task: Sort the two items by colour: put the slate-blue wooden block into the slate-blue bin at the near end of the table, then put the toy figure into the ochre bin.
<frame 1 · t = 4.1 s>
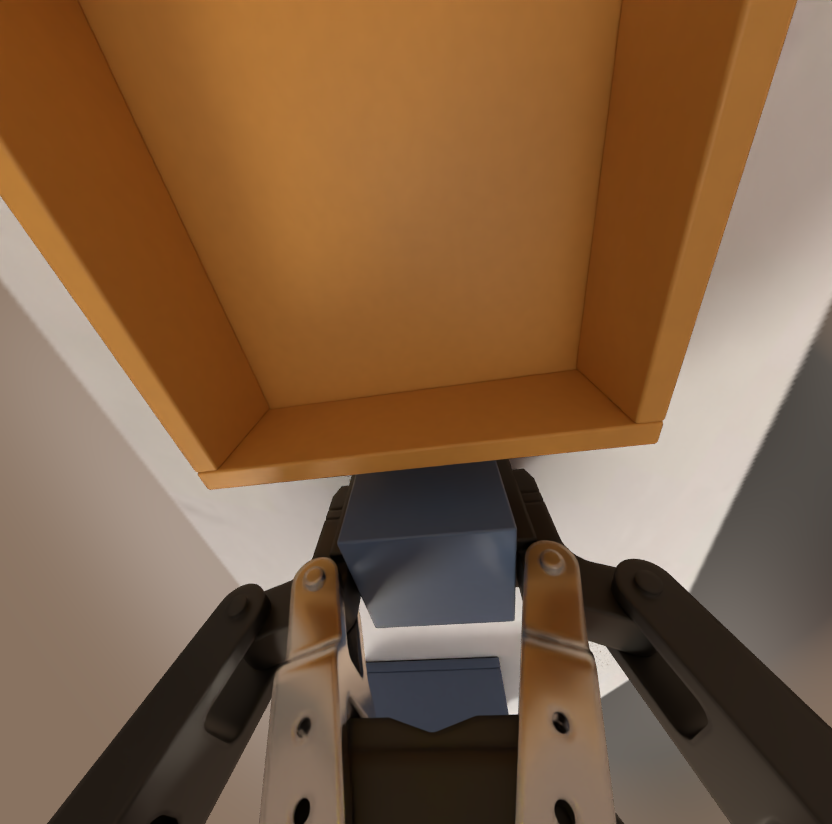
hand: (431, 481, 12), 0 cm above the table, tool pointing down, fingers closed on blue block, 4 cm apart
ochre bin: (385, 207, 8), on the table
blue block: (431, 475, 12), on the table, touching gripper
blue bin: (436, 686, 24), on the table
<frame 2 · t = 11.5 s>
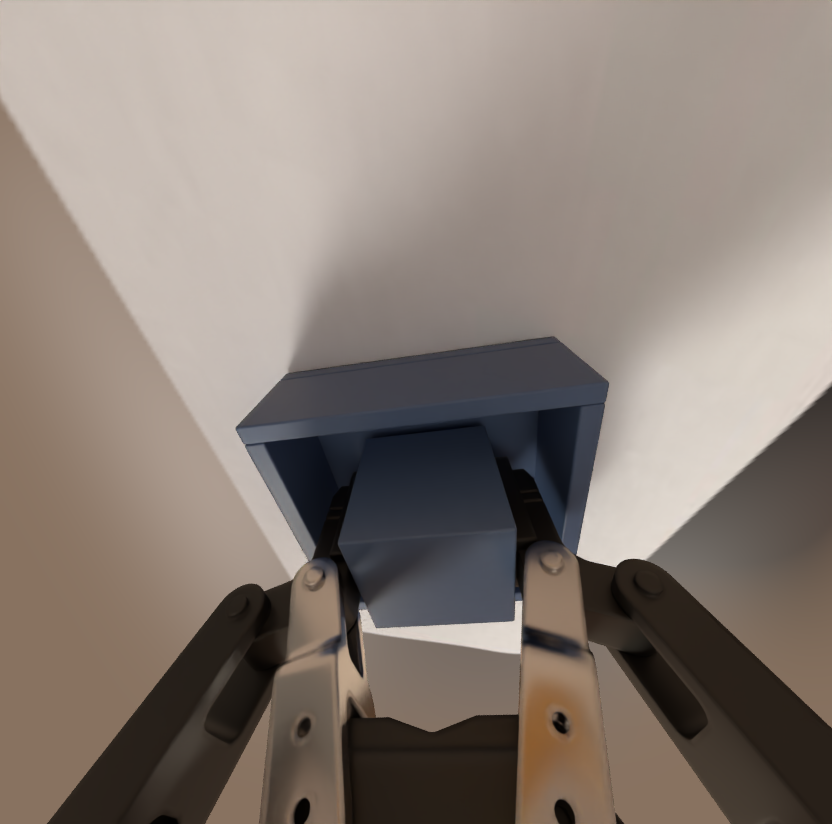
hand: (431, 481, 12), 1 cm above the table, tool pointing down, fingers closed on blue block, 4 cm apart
blue block: (431, 476, 12), point 1 cm above the table, touching gripper
blue bin: (431, 459, 13), on the table
when the fingers open (3 cm above the table, at t = 21.8 s): blue block drops 2 cm, resting on blue bin.
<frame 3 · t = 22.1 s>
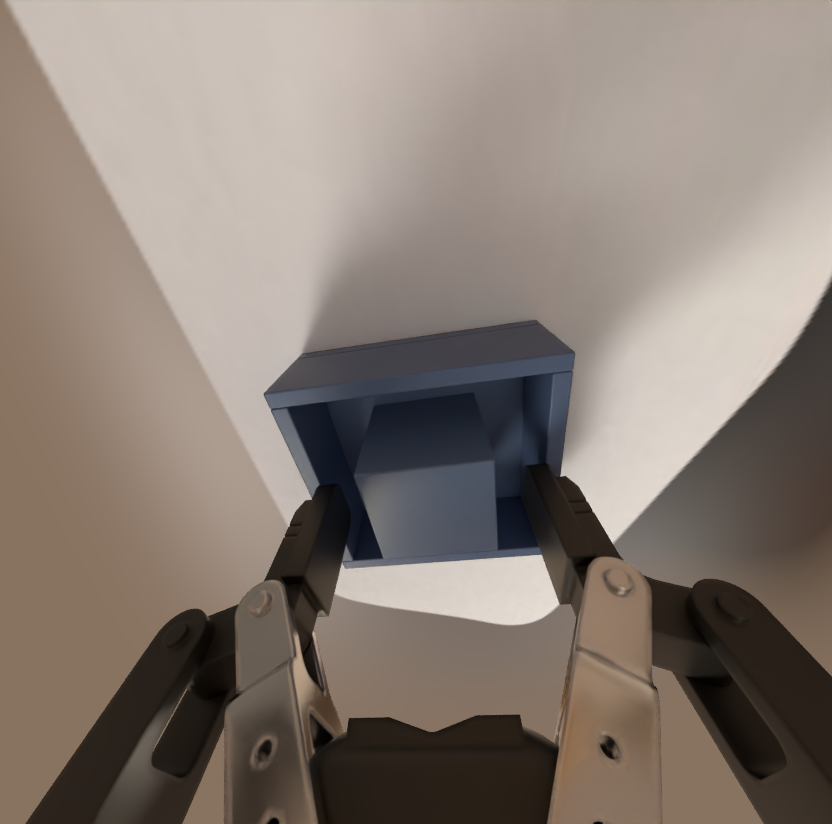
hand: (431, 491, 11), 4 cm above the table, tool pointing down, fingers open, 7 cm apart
blue block: (429, 439, 14), point 1 cm above the table, touching blue bin
blue bin: (429, 433, 15), on the table
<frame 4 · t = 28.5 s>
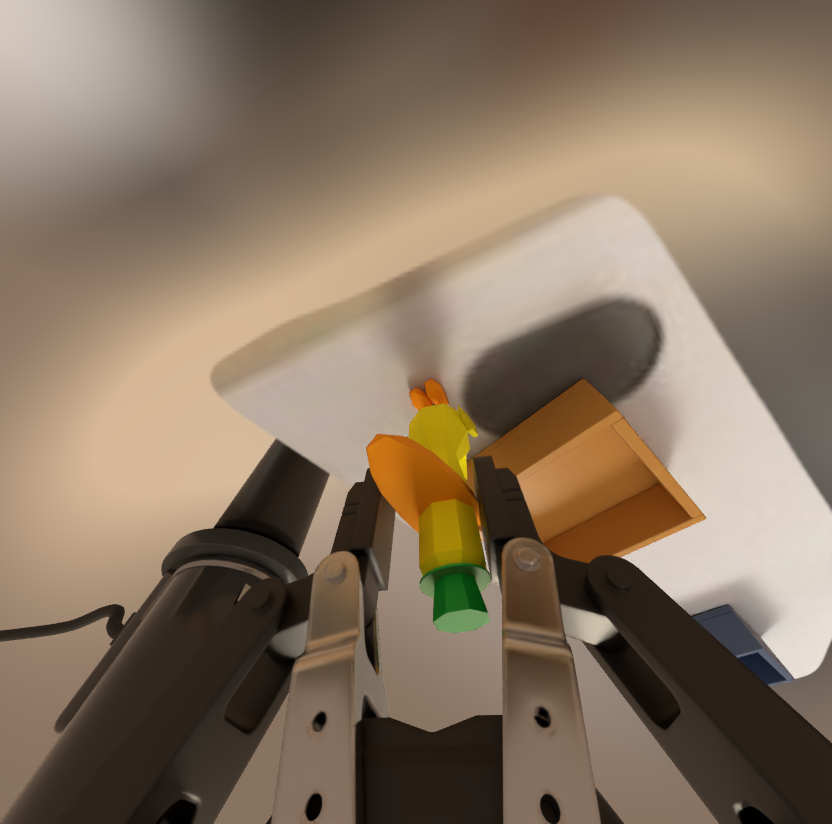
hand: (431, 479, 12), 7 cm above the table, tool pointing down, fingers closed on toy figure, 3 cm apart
toy figure: (428, 392, 18), on the table, touching gripper
ochre bin: (554, 476, 21), on the table
blue bin: (696, 637, 33), on the table
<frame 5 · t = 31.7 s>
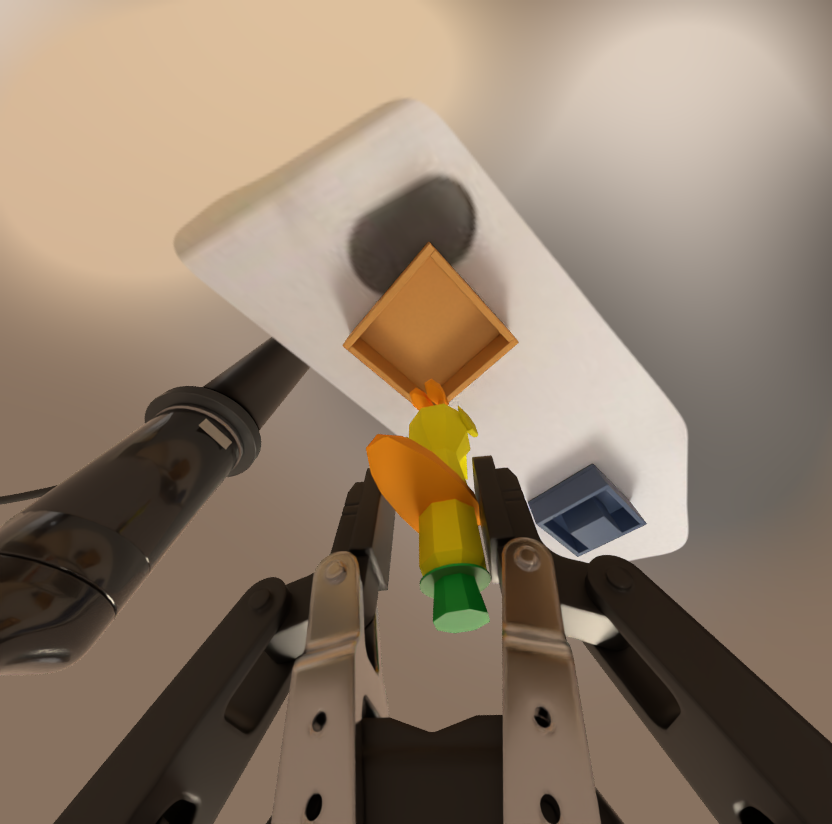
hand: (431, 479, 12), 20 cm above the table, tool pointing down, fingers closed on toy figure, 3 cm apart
toy figure: (428, 392, 18), point 13 cm above the table, touching gripper
ochre bin: (429, 331, 29), on the table
blue block: (580, 505, 40), point 1 cm above the table, touching blue bin
blue bin: (578, 501, 41), on the table
when the fingers open (8 cm above the table, at t = 34.8 s): toy figure stays where it is, resting on ochre bin.
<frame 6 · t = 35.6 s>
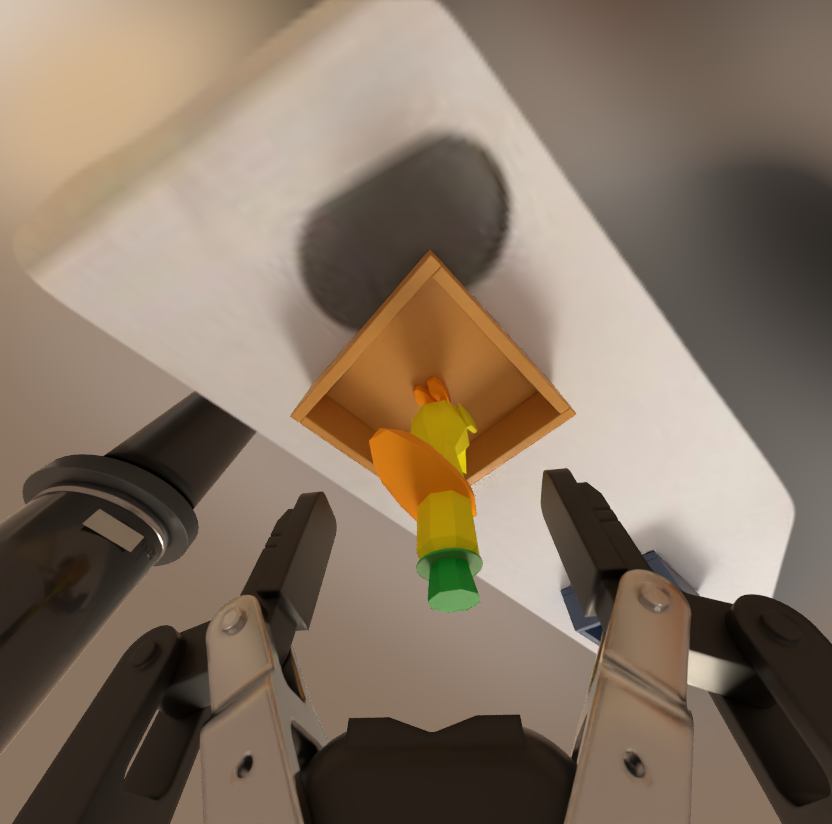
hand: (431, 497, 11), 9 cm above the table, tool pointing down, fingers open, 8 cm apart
toy figure: (431, 389, 19), resting on ochre bin
ochre bin: (430, 385, 19), on the table
blue bin: (628, 591, 31), on the table
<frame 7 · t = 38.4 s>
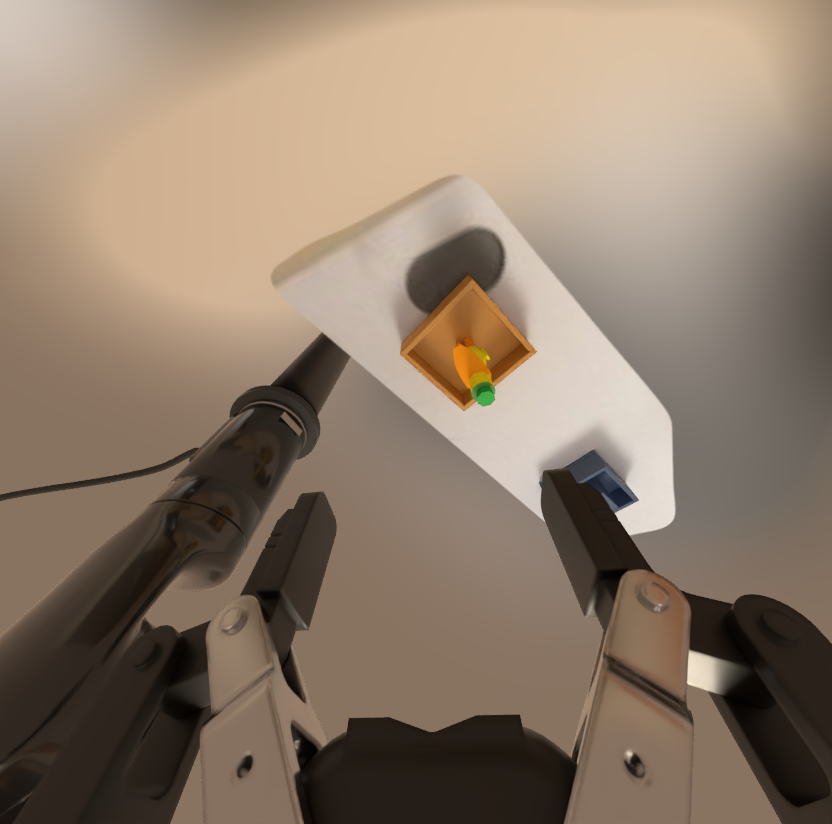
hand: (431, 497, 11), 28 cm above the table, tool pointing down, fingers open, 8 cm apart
toy figure: (465, 344, 37), resting on ochre bin
ochre bin: (464, 342, 37), on the table
blue block: (583, 485, 48), point 1 cm above the table, touching blue bin
blue bin: (582, 483, 48), on the table
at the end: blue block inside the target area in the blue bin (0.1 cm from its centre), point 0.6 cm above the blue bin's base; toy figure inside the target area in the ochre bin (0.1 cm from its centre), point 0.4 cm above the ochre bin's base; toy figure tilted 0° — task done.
